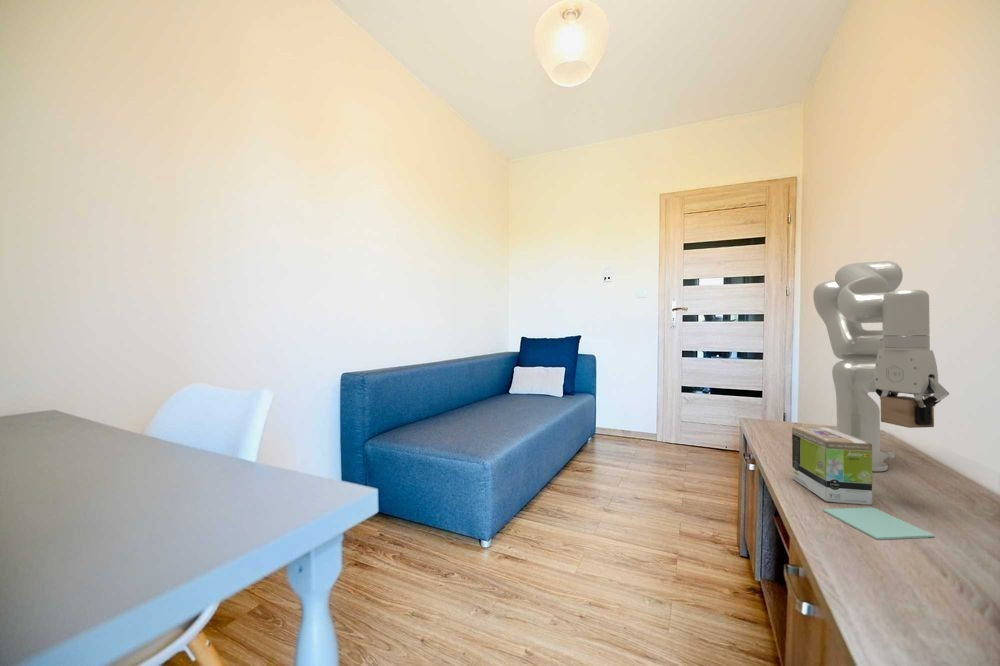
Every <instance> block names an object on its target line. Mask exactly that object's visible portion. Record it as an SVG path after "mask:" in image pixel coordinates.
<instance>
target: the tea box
mask: <svg viewBox="0 0 1000 666" xmlns="http://www.w3.org/2000/svg"><path fill="white" fill-rule="evenodd" d="M791 429H792V431H791V434H792V435H791V439H792V441H791V445H792V446H791V448H792V449H791V455H792V457H791V459H792V465H791V466H792V467H791V468H792V469H791V471H792V480H794V481H796V482H797V483H798V484H800V485H802V486H803V487H805V488H806V489H807V490H809V491H811V492H812V493H814V494H815V495H816V496H818V497H819V498H821V499H822V500H824V501H825V502H829V503H839V504H851V505H871V506H872V504H873V471H872V443H870V442H868V441H865V440H862V439H859V438H857V437H854V436H851V435H848V434H846V433H843V432H840V431H837V429H835V428H833V427H832V428H831V427H830V428H829V427H814V426H813V427H810V426H791Z"/></svg>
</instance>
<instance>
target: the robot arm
mask: <svg viewBox="0 0 1000 666" xmlns="http://www.w3.org/2000/svg"><path fill="white" fill-rule="evenodd" d="M903 276H904V274H903V270H902V267H901V266H900V265H899V264H898V263H896V262H894V261H890V260H884V261H883V260H882V261H870V262H857V263H856V262H853V263H850V264H845V265H844V266H842V267H841V268H838V270H837V271H836V273H835V275H834V279H833V280H828V281H824V282H821V283H819V284H818V285H816V286H815V288H814V289H813V295H812V298H813V304H814V308H815V309H816V312H817V314H818V316H820V318H821V320H822V321H823V323H824V324H825V326H826V331H827V334H828V338H829V342H830V346H831V349H832V352H833V354H834V356H835V357H836V358H837V359H839V360H840V361H838V362H836V363H835V364H834V365H833V367H832V370H831V372H832V373H831V375H832V380H833V384H834V390H835V398H836V430H837V431H840V432H843V433H846V434H848V435H851V436H854V437H857V438H859V439H862V440H865V441H868V442H870V443H872V472H886V471H888V469H889V467H888V464H887V463H886V462H884V461H885V460H892V459H893V460H894V459H895V458H896V455H895V453H894V452H892V451H891V452H890V451H886V452H884V451H882V450H881V408H880V407H879V405H878V404H877V402H876V401H875V400H874V399H873V398H872V397H871V396H870V395H869V394H868V393H875V394H877V395H878V397H879V399H880V401H881V397H886V396H899V394H906V395H913V397H914V398H915V399H916V402H917V404H918V406H919V407H915V423H916V424H917V425H931V423H932V422H931V421H932V407H934V408H935V407H936V405H937V404H939V403H940V402H941V401H942V400H944V399H945V398H947V397H948V396H949V395H950V391H948V390H947V389H946V388H945V387H944V386H942V384H940V383H939V372H938V371H939V370H938V366H937V361H936V358H935V353H934V350H933V349H931V339H930V338H931V337H930V333H931V332H930V331H931V330H930V295H929V293H928V291H925V290H924V289H923V290H922V289H902V290H897V289H898V287H900V285H901V283H902V281H903ZM868 323H869V324H870V323H871V324H873V323H878V324H879V323H881V324H882V329H881V330H877V329H875V330H873V329H872V330H869V329H864V327H863V326H862V324H868ZM924 399H925V400H924Z"/></svg>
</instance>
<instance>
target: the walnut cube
mask: <svg viewBox="0 0 1000 666" xmlns="http://www.w3.org/2000/svg"><path fill="white" fill-rule="evenodd" d="M923 399H924V398H923ZM924 400H925V399H924ZM915 407H919V406H918V404H917V402H916V399H915V397H914V396H906V395H900V396H899V395H897V396H886V397H881V400H880V423H885V424H890V425H895V426H899V427H904V428H908V429H911V428H912V429H915V428H917V429H919V428H935V414H934V413H935V411H934V410H935V407H932V421H931V422H932V423H931V425H917V424H916V423H915Z"/></svg>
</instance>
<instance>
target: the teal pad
mask: <svg viewBox="0 0 1000 666" xmlns="http://www.w3.org/2000/svg"><path fill="white" fill-rule="evenodd" d="M821 511H822V512H823V513H824V514H825V513H826V514H827V515H829V516H831V517H833V518H834V519H837V520H839V521H840V522H842V523H844V524H847V525H848V526H850V527H852V528H854V529H856V530H857V531H859V532H861V533H862V534H865V535H866V536H869V537H871V538H872V539H875V540H880V541H881V540H899V539H901V540H902V539H904V540H905V539H926V538H927V539H928V538H929V537H932V538H935V537H936V536H935V534H933V533H931V532H929V531H926V530H924V529H922V528H920V527H917V526H915V525H912V524H911V523H908V522H906V521H904V520H902V519H900V518H897V517H895V516H893V515H891V514H888V513H886V512H884V511H882V510H881V509H877V508H876V507H872V506H871V507H848V508H847V507H845V508H823V509H821Z"/></svg>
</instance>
